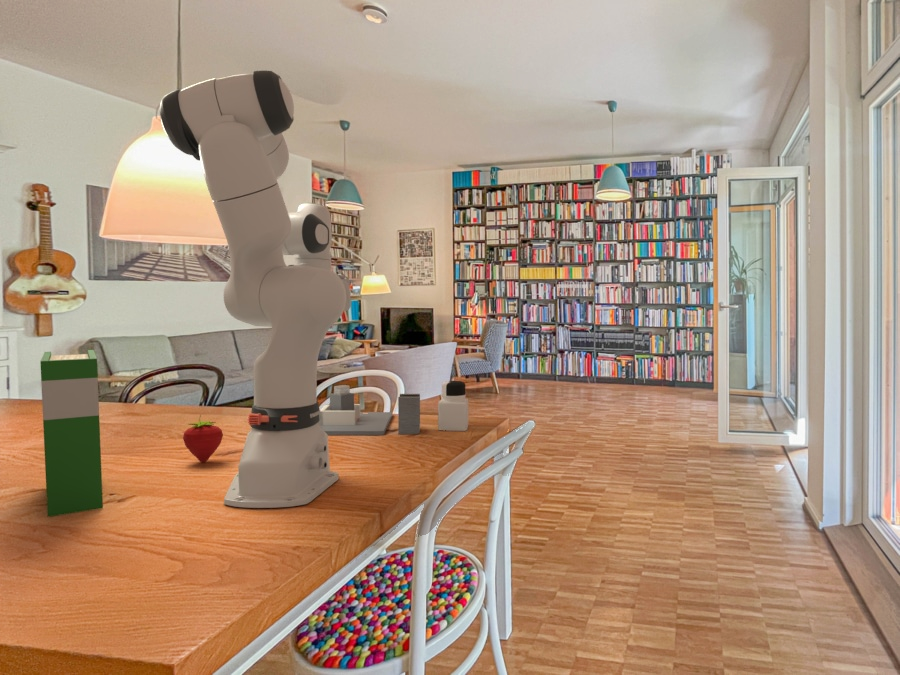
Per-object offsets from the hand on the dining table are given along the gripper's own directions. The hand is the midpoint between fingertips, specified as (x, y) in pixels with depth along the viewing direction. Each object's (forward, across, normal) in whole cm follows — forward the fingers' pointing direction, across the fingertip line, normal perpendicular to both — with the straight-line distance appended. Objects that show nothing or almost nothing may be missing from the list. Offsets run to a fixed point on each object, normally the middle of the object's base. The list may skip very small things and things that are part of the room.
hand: (312, 328), depth 152 cm
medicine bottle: (+25, -30, +19) cm, 44 cm away
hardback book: (+28, +53, +18) cm, 63 cm away
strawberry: (+27, +29, +11) cm, 41 cm away
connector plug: (+24, -10, -3) cm, 26 cm away
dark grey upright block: (+25, -19, +15) cm, 35 cm away
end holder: (+25, -11, -3) cm, 27 cm away
